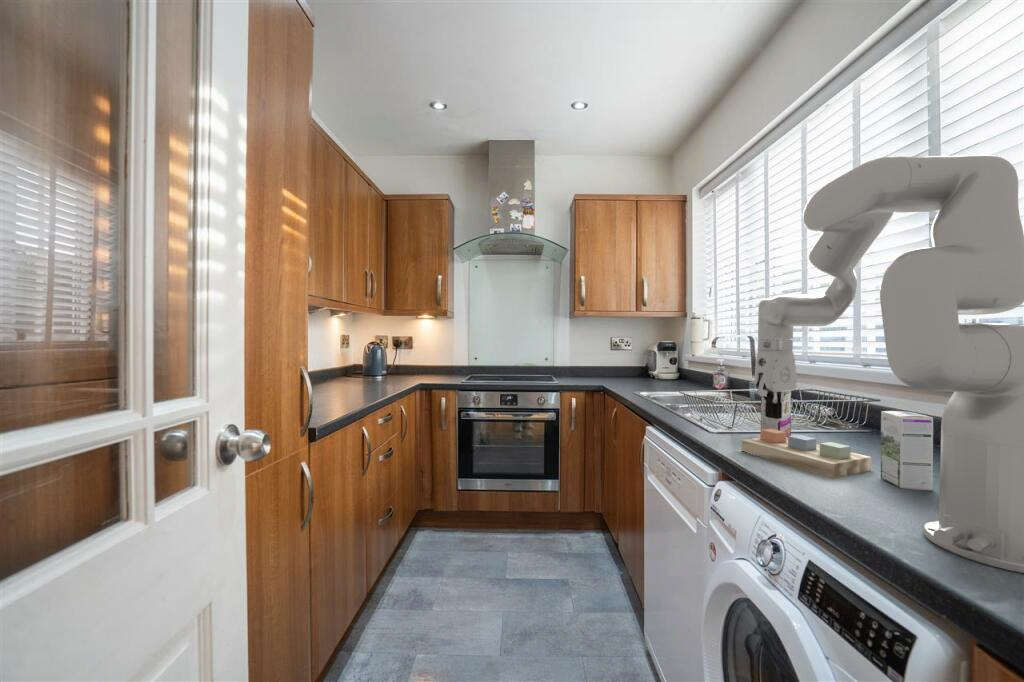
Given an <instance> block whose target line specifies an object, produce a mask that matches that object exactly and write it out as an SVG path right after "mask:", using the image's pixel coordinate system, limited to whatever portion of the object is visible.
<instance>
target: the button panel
mask: <svg viewBox="0 0 1024 682" xmlns="http://www.w3.org/2000/svg"><path fill="white" fill-rule="evenodd" d="M742 451H745V452H748V453H747V454H749V453H752V454H755V455H754V456H756V455H758V456H757V457H759V456H761V457H760V458H762V457H764V459H766V458H768V459H767V460H769V459H770V461H773V462H775V463H779V462H780V464H784V465H787V466H790V467H793V468H796V467H797V468H796V469H800V470H804V471H806V472H811V473H813V474H814V473H815V474H818V475H821V476H824V477H827V478H831V479H836V478H841V477H846V476H850V475H856V474H861V473H865V472H870V471H872V463H873V461H872V458H873V457H872V456H869V455H863V454H860V453H856V452H852V451H851V458H849V459H844V460H838V459H834V458H830V457H826V456H823V455H820V444H818V443H816V450H811V451H803V450H799V449H795V448H791V447H788V438H787V437H786V442H785V443H778V444H775V443H771V442H767V441H763V440H760V437H754V438H746V439H741V452H742ZM745 452H744V453H745ZM752 454H751V455H752Z"/></svg>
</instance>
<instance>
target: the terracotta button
mask: <svg viewBox="0 0 1024 682" xmlns="http://www.w3.org/2000/svg"><path fill="white" fill-rule="evenodd" d="M759 438H760V440H763V441H767V442H771V443H775V444H778V443H785V442H786V432H784V431H779V430H774V429H764V430H761V429H760V436H759Z"/></svg>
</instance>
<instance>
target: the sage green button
mask: <svg viewBox="0 0 1024 682" xmlns="http://www.w3.org/2000/svg"><path fill="white" fill-rule="evenodd" d="M819 445H820V455H823V456H826V457H830V458H834V459H838V460H844V459H849V458H851V452H852V450H851V448H852V446H850V445H846V444H841V443H838V442H833V441H827V442H821V443H819Z"/></svg>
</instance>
